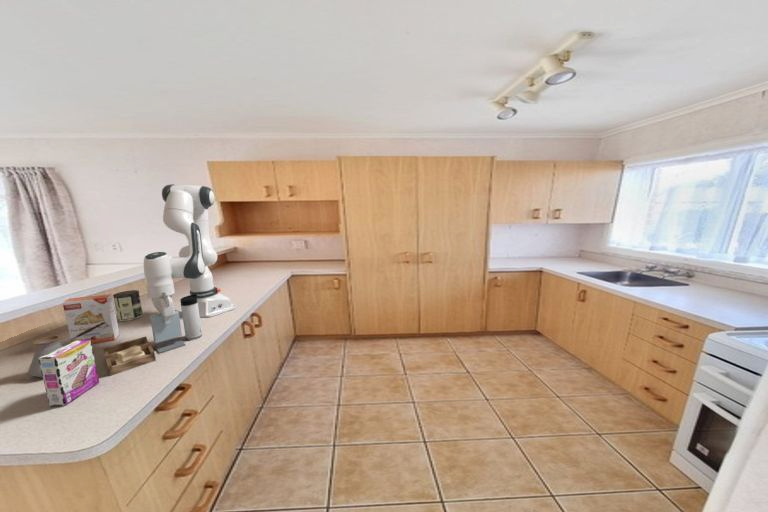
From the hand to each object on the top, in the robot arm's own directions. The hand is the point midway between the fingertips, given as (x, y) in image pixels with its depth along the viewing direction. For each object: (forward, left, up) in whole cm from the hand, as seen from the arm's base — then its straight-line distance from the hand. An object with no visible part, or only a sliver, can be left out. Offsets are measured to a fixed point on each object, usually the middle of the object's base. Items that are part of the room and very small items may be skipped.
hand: (165, 321), depth 116 cm
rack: (+13, +2, -11) cm, 17 cm away
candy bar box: (+27, +15, -12) cm, 33 cm away
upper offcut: (+13, +6, -8) cm, 17 cm away
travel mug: (-10, -1, -12) cm, 15 cm away
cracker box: (+20, -30, -12) cm, 38 cm away
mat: (0, 0, -11) cm, 11 cm away
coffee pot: (+27, -9, -12) cm, 31 cm away
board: (0, 0, -8) cm, 8 cm away
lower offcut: (+13, +6, -12) cm, 19 cm away
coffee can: (+6, -54, -12) cm, 56 cm away
